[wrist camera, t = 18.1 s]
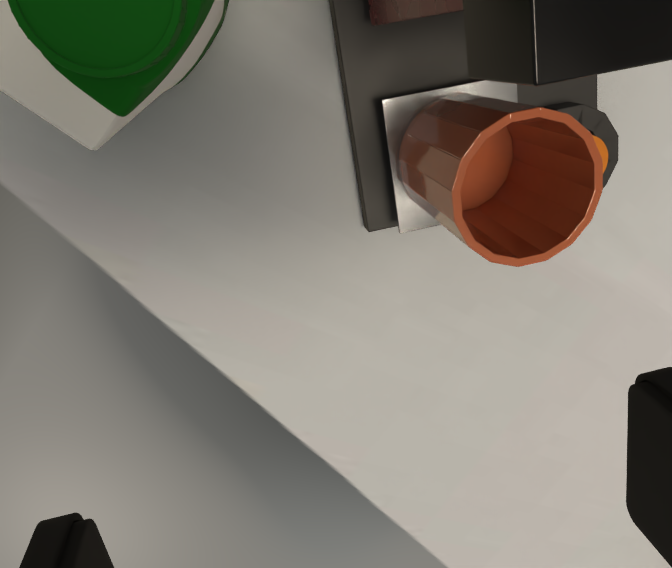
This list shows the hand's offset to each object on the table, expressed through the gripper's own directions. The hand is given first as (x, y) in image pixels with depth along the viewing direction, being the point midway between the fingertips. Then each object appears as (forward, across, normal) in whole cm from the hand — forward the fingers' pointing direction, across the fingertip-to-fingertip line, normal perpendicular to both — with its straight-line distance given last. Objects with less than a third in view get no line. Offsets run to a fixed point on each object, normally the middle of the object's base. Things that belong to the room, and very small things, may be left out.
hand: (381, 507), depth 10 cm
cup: (+25, -10, 0) cm, 27 cm away
